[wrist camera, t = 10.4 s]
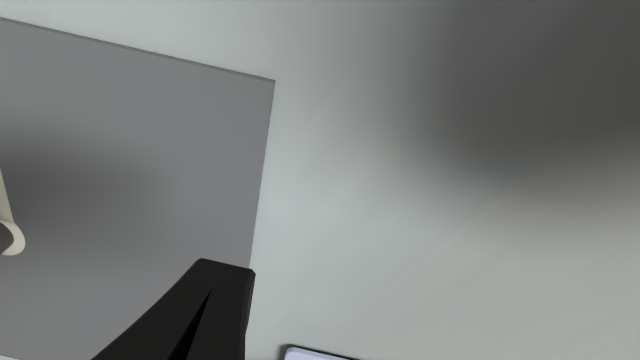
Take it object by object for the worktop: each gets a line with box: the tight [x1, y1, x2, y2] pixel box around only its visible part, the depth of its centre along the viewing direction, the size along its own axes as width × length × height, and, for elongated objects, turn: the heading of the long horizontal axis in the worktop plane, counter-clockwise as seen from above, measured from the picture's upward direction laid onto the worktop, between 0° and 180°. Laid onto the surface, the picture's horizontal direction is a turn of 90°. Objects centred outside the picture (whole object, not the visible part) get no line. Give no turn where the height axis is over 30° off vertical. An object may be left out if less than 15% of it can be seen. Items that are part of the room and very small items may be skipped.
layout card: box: [0, 17, 275, 360], centre depth 23 cm, size 25×27×1 cm
